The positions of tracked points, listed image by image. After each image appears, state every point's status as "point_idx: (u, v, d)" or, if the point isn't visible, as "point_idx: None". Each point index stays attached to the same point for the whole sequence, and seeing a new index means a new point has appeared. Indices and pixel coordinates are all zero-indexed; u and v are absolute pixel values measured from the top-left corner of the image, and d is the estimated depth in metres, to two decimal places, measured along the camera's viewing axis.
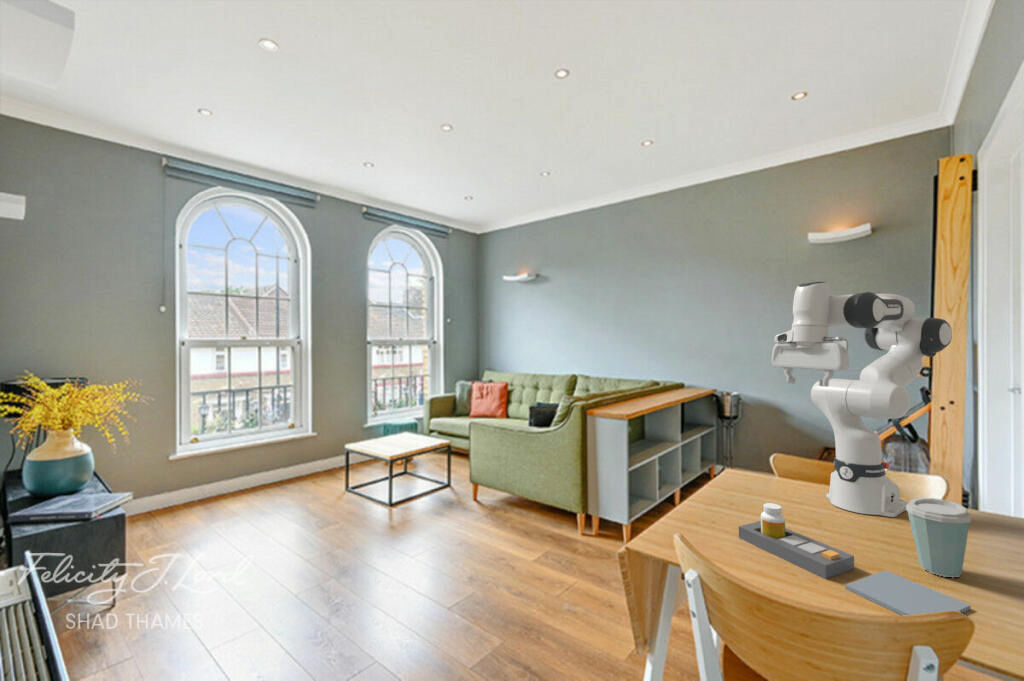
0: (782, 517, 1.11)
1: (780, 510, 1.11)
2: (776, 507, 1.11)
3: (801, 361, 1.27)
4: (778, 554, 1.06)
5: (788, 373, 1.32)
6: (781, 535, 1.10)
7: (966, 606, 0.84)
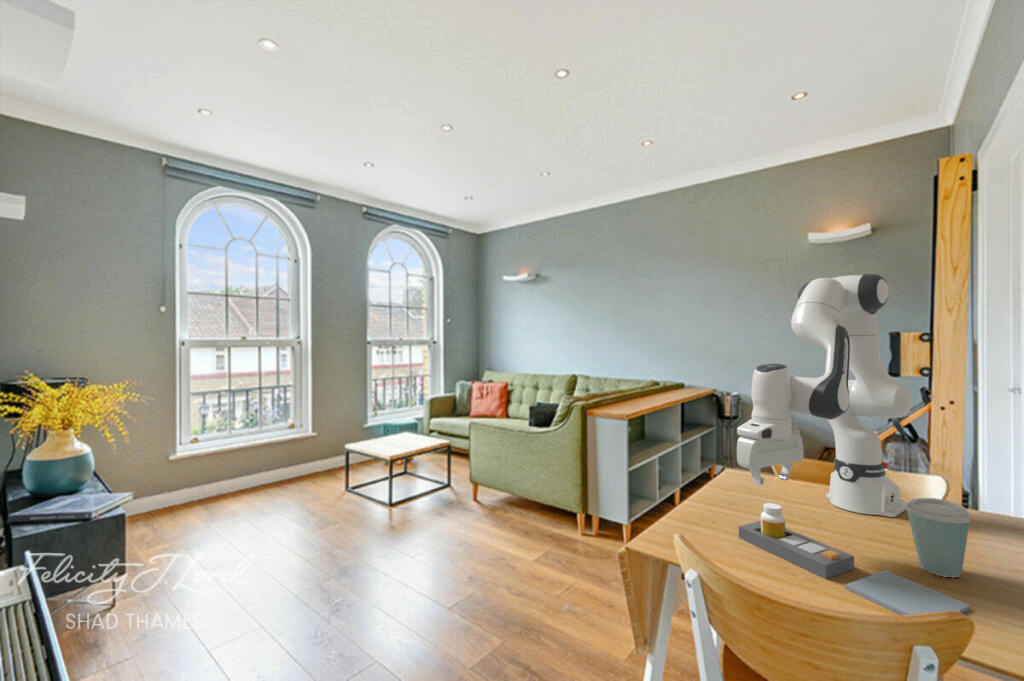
0: (782, 517, 1.11)
1: (780, 510, 1.11)
2: (776, 507, 1.11)
3: (776, 457, 1.10)
4: (778, 554, 1.06)
5: None
6: (781, 535, 1.10)
7: (966, 606, 0.84)
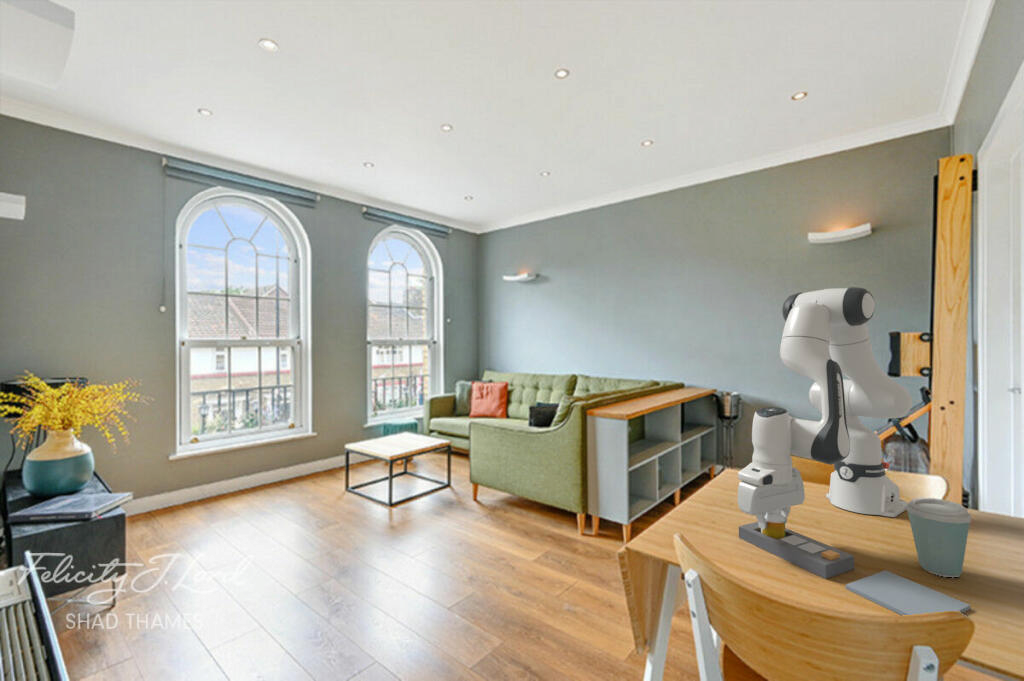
0: (782, 517, 1.11)
1: (780, 510, 1.11)
2: None
3: (777, 502, 1.11)
4: (778, 554, 1.06)
5: None
6: (781, 535, 1.10)
7: (966, 606, 0.84)
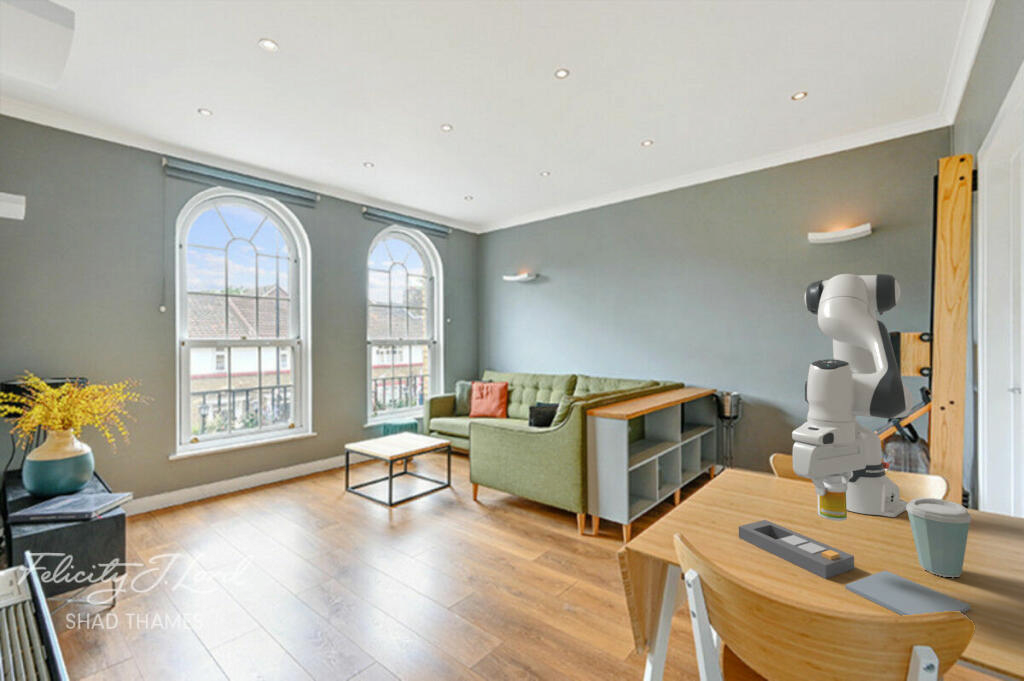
0: (843, 486, 0.98)
1: (840, 478, 0.98)
2: (835, 475, 0.99)
3: (837, 465, 0.98)
4: (778, 554, 1.06)
5: None
6: (842, 506, 0.97)
7: (966, 606, 0.84)
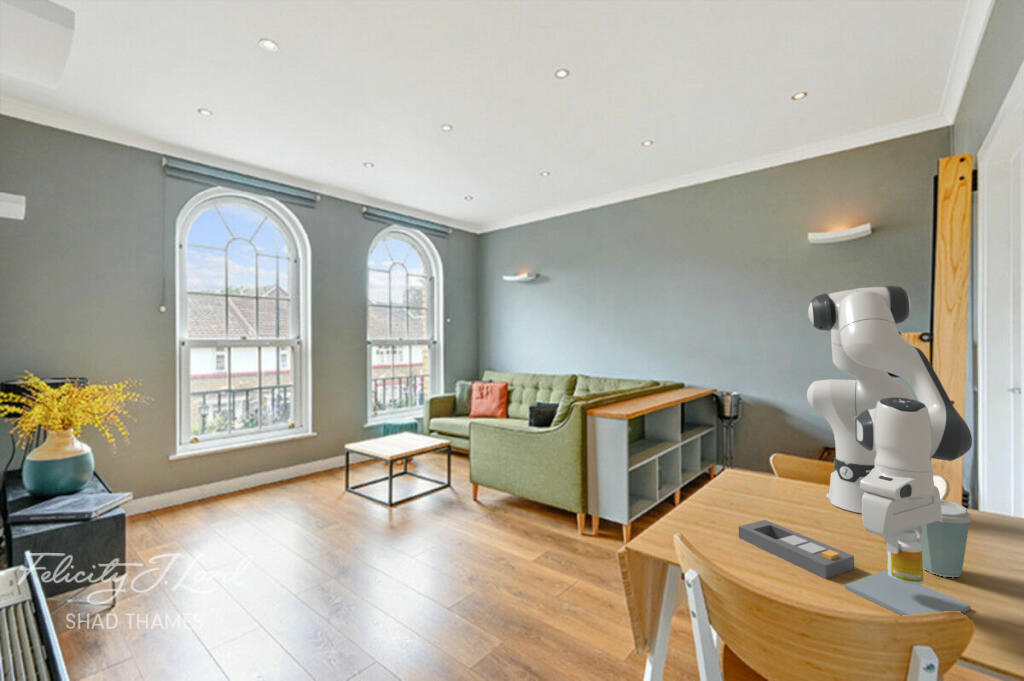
0: (918, 544, 0.87)
1: (916, 535, 0.87)
2: (909, 531, 0.87)
3: (912, 519, 0.86)
4: (778, 554, 1.06)
5: None
6: (919, 567, 0.86)
7: (966, 606, 0.84)
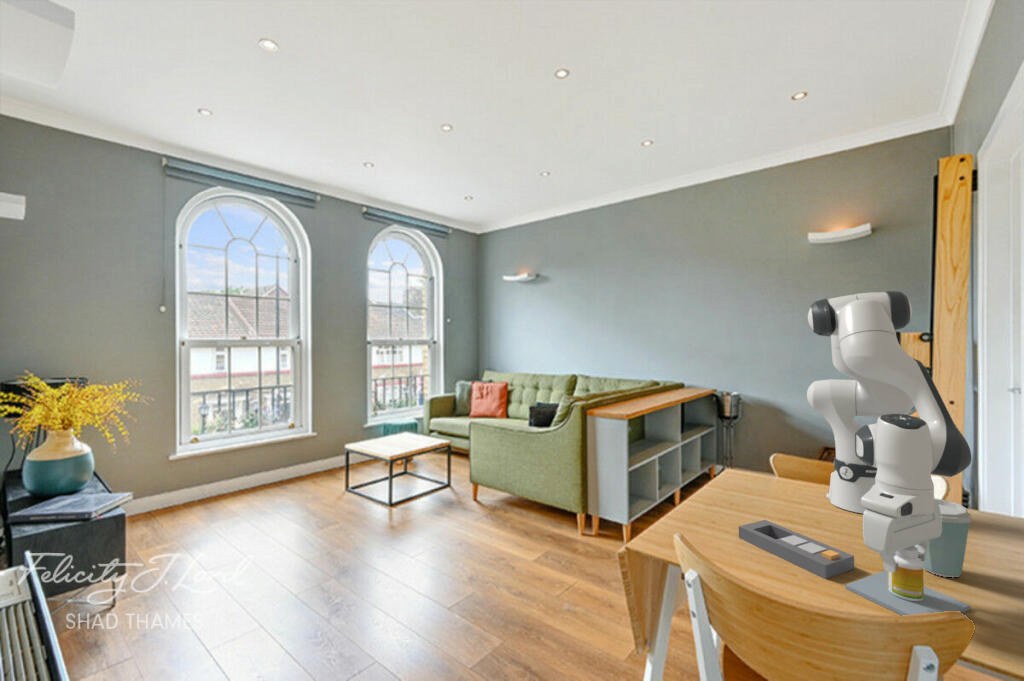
0: (920, 562, 0.87)
1: (917, 553, 0.87)
2: (911, 548, 0.87)
3: (913, 537, 0.86)
4: (778, 554, 1.06)
5: None
6: (920, 585, 0.86)
7: (966, 606, 0.84)
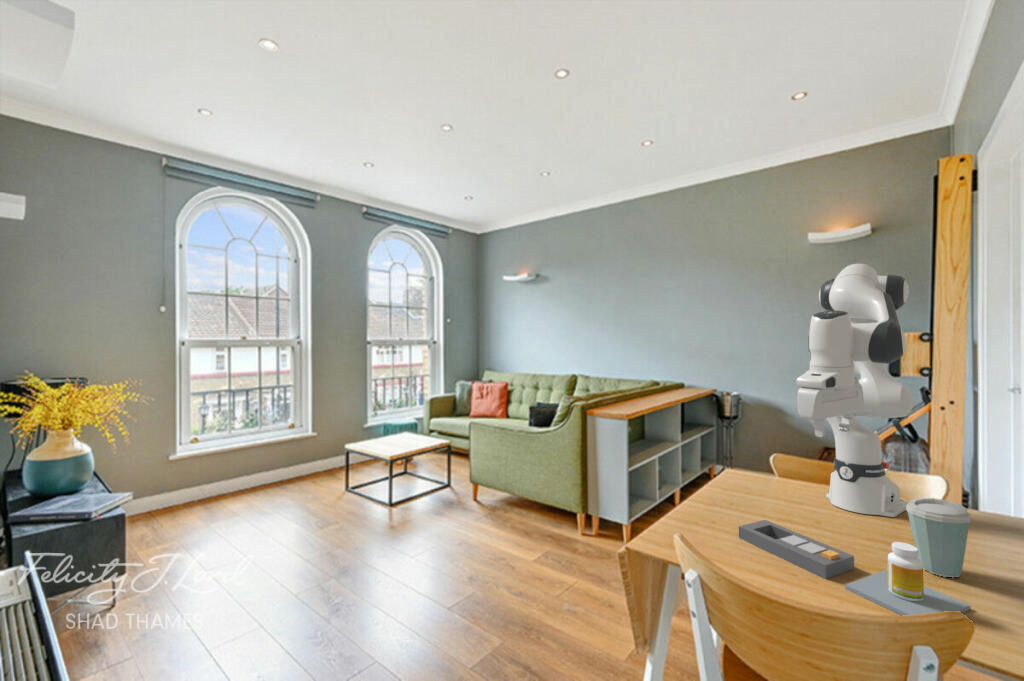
0: (920, 562, 0.87)
1: (917, 553, 0.87)
2: (911, 548, 0.87)
3: (838, 408, 1.06)
4: (778, 554, 1.06)
5: None
6: (920, 585, 0.86)
7: (966, 606, 0.84)
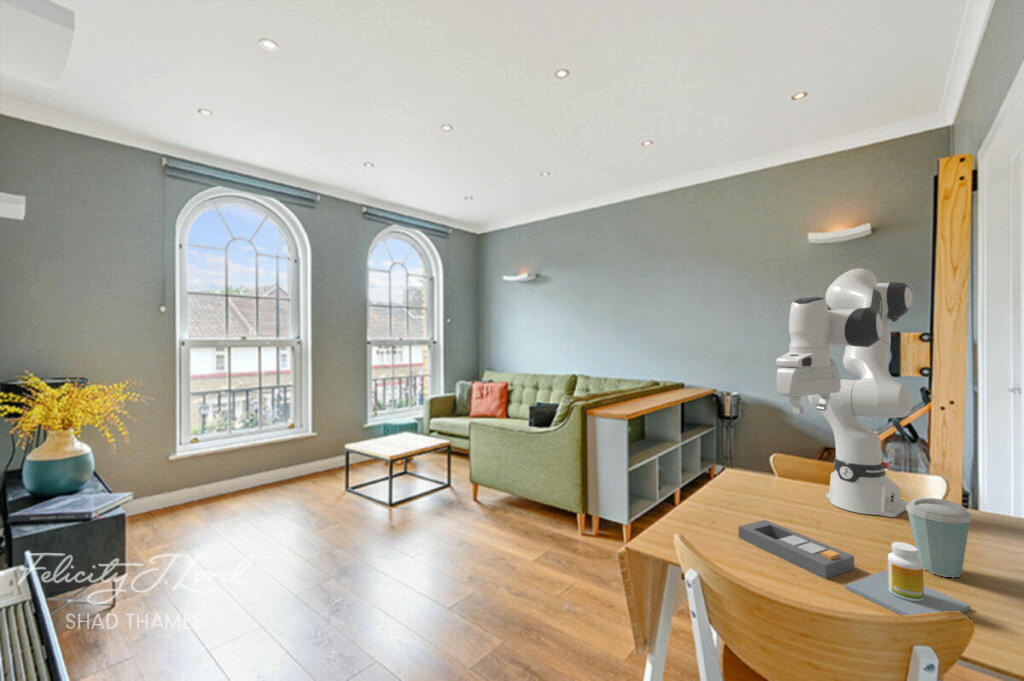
0: (920, 562, 0.87)
1: (917, 553, 0.87)
2: (911, 548, 0.87)
3: (815, 387, 1.13)
4: (778, 554, 1.06)
5: None
6: (920, 585, 0.86)
7: (966, 606, 0.84)
